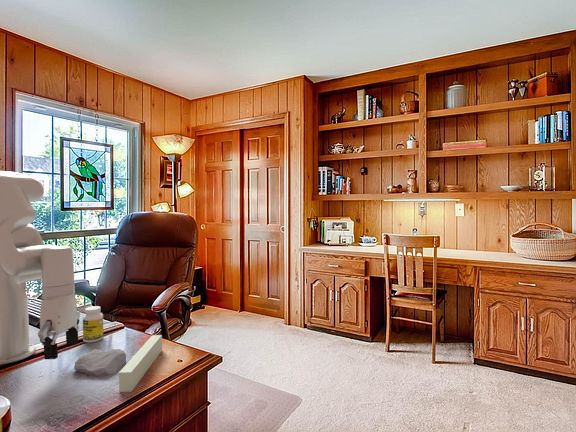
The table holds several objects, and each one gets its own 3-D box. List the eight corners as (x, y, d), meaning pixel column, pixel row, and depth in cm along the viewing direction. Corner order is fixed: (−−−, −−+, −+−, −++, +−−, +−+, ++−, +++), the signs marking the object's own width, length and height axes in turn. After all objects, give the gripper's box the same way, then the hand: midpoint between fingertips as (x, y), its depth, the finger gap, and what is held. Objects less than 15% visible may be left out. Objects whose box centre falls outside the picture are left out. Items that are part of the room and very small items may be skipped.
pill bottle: (79, 343, 117) (78, 310, 116) (89, 336, 123) (88, 305, 122) (97, 343, 117) (97, 310, 116) (107, 335, 123) (106, 305, 122)
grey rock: (110, 383, 95) (129, 359, 104) (107, 368, 94) (127, 345, 103) (69, 382, 96) (92, 359, 106) (66, 367, 95) (89, 345, 104)
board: (119, 392, 87) (118, 372, 87) (152, 350, 111) (152, 335, 111) (131, 391, 87) (131, 372, 87) (162, 350, 111) (161, 335, 111)
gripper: (63, 284, 105) (67, 340, 106) (22, 299, 88) (26, 366, 88) (89, 283, 106) (92, 338, 106) (53, 298, 88) (56, 364, 89)
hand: (62, 351), depth 97 cm, fingers open, 9 cm apart
